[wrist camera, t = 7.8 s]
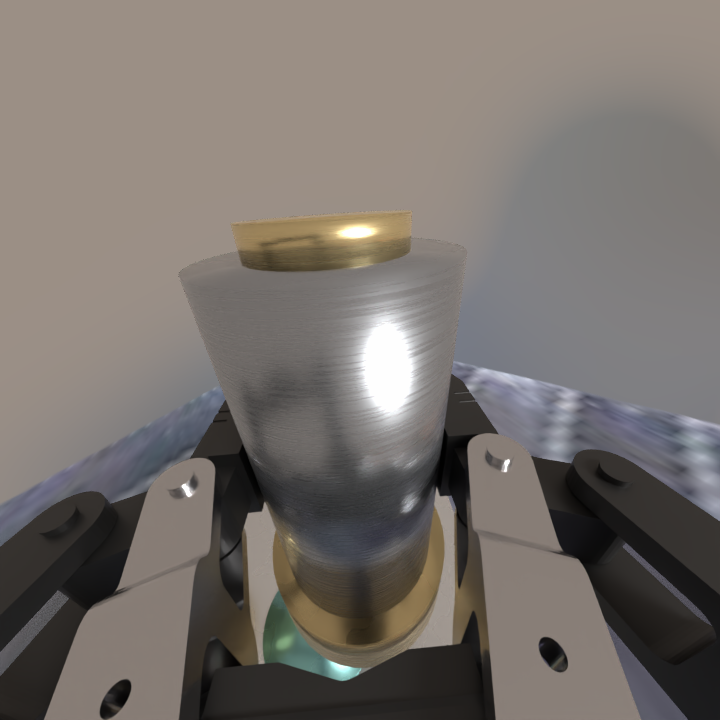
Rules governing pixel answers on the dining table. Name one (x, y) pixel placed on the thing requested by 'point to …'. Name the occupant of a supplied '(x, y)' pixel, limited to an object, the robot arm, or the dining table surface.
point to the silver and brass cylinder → (340, 412)
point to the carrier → (278, 628)
